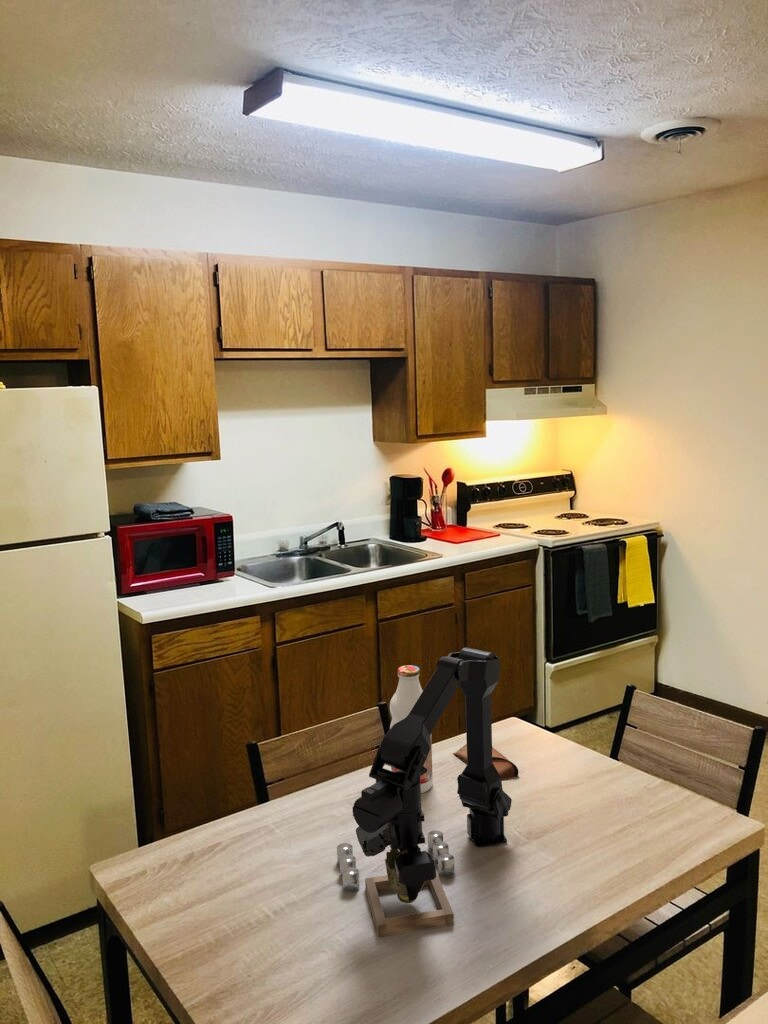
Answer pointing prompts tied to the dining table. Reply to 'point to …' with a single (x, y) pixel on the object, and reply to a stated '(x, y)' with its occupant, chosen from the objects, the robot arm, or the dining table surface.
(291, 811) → the dining table surface
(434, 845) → the spacer posts
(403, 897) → the ornate brass lampshade
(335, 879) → the dining table surface
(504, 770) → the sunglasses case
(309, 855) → the dining table surface
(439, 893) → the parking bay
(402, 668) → the white plastic bottle
